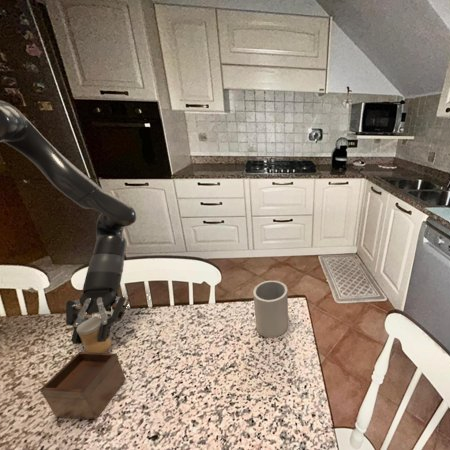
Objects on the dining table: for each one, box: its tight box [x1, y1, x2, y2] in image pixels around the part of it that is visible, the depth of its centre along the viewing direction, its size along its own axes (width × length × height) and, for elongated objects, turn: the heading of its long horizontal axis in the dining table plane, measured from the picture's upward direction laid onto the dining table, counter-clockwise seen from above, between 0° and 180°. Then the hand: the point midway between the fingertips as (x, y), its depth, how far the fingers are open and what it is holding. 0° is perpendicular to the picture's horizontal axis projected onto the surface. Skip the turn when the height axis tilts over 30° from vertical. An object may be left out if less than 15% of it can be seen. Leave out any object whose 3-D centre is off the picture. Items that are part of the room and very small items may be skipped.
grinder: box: [76, 316, 112, 353], centre depth 61 cm, size 5×5×8 cm
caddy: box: [39, 351, 127, 420], centre depth 50 cm, size 8×8×8 cm
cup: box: [252, 280, 289, 338], centre depth 68 cm, size 9×9×12 cm
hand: (89, 342), depth 59 cm, fingers closed on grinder, 5 cm apart
